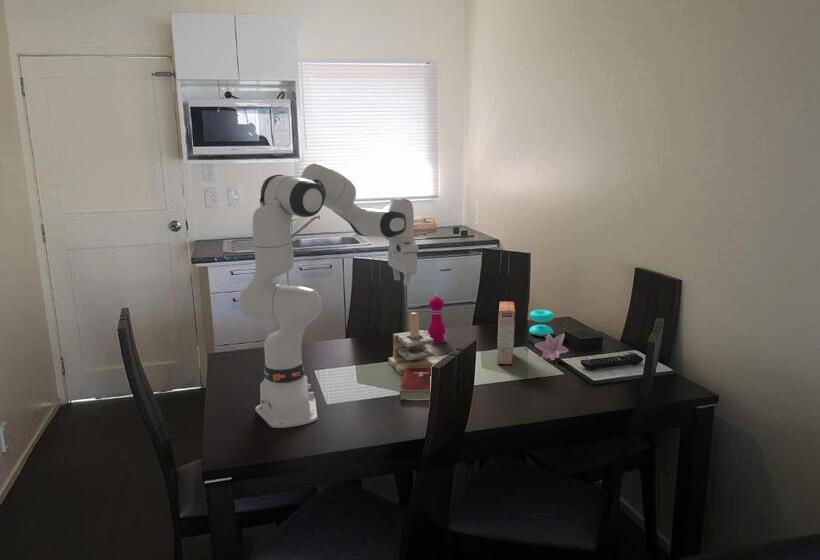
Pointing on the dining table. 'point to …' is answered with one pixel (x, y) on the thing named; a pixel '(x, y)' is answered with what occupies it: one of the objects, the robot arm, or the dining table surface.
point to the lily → (552, 346)
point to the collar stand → (404, 355)
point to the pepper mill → (436, 320)
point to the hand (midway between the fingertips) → (401, 282)
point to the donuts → (541, 317)
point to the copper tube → (414, 332)
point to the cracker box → (506, 332)
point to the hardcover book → (415, 383)
